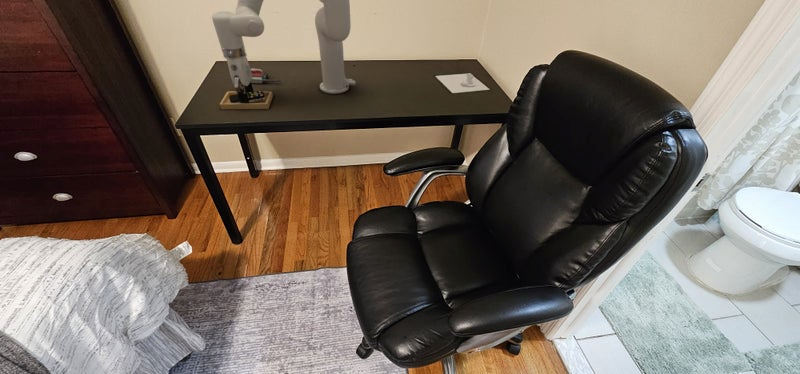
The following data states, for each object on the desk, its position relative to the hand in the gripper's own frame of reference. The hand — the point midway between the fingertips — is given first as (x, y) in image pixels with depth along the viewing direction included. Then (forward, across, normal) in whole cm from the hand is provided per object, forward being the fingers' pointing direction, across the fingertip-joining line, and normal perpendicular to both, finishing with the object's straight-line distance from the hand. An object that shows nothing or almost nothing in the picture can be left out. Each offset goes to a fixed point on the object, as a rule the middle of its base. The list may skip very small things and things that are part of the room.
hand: (247, 97), depth 122 cm
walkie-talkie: (+2, +22, 0) cm, 22 cm away
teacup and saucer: (+3, +19, -94) cm, 96 cm away
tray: (+2, 0, 0) cm, 2 cm away
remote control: (+1, 0, 0) cm, 1 cm away
